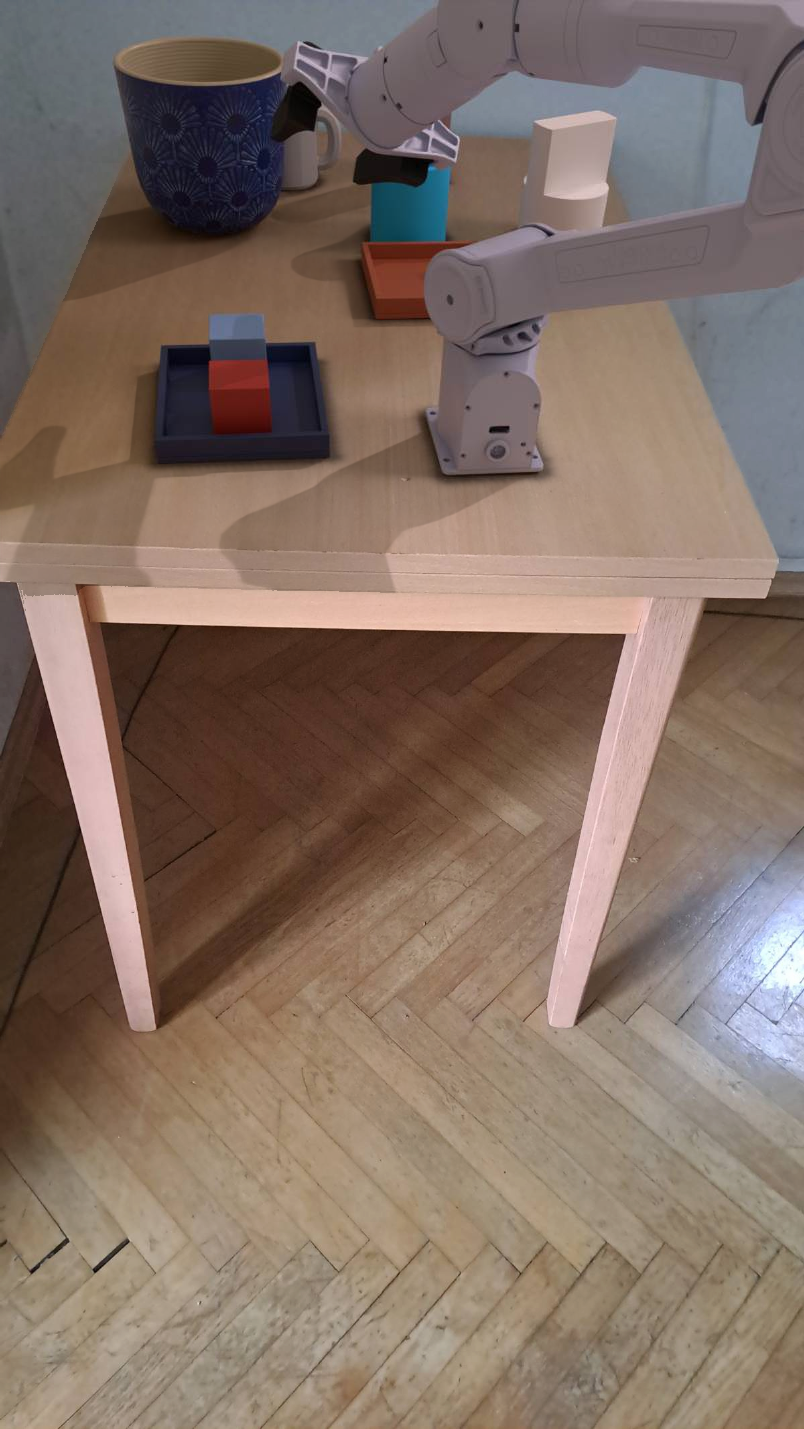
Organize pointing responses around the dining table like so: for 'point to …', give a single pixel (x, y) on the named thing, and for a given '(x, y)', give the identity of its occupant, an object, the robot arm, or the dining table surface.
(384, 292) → the tray
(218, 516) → the dining table surface
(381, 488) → the dining table surface
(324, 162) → the cup
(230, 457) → the blue tray
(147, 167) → the planter
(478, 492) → the dining table surface
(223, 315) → the blue block
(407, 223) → the mug
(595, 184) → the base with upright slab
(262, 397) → the red block
